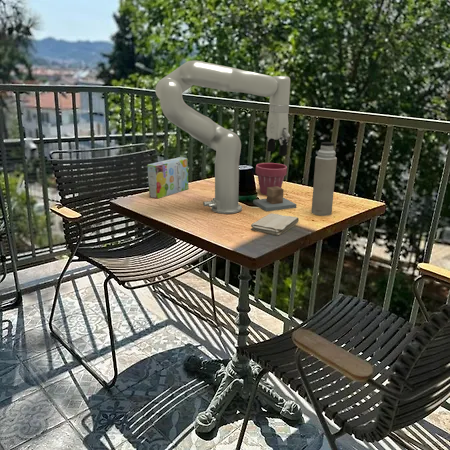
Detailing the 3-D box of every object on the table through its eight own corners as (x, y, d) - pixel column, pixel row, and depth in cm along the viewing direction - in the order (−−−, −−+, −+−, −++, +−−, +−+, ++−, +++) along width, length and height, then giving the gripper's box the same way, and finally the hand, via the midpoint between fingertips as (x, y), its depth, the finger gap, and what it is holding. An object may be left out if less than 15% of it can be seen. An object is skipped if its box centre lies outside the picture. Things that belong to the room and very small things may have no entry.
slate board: (266, 211, 174) (266, 207, 174) (253, 203, 185) (253, 200, 184) (296, 207, 179) (296, 204, 179) (282, 200, 190) (282, 196, 189)
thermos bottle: (307, 212, 173) (312, 142, 164) (318, 208, 178) (324, 140, 169) (324, 217, 168) (330, 144, 159) (335, 212, 173) (342, 142, 164)
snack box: (180, 187, 209) (179, 156, 204) (189, 189, 206) (188, 158, 201) (148, 197, 193) (146, 163, 188) (157, 199, 190) (156, 165, 185)
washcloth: (249, 231, 153) (249, 223, 152) (270, 217, 168) (270, 210, 167) (280, 237, 148) (280, 229, 147) (298, 223, 163) (299, 215, 162)
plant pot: (291, 192, 202) (293, 165, 198) (274, 198, 192) (275, 170, 188) (266, 187, 211) (267, 161, 207) (248, 192, 201) (249, 165, 196)
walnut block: (272, 204, 178) (272, 190, 176) (266, 201, 183) (267, 187, 181) (282, 203, 180) (283, 189, 178) (276, 199, 185) (277, 186, 182)
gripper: (260, 107, 175) (258, 150, 181) (281, 111, 160) (279, 157, 166) (276, 107, 178) (274, 149, 183) (298, 111, 163) (296, 156, 168)
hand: (276, 153), depth 175 cm, fingers open, 9 cm apart
